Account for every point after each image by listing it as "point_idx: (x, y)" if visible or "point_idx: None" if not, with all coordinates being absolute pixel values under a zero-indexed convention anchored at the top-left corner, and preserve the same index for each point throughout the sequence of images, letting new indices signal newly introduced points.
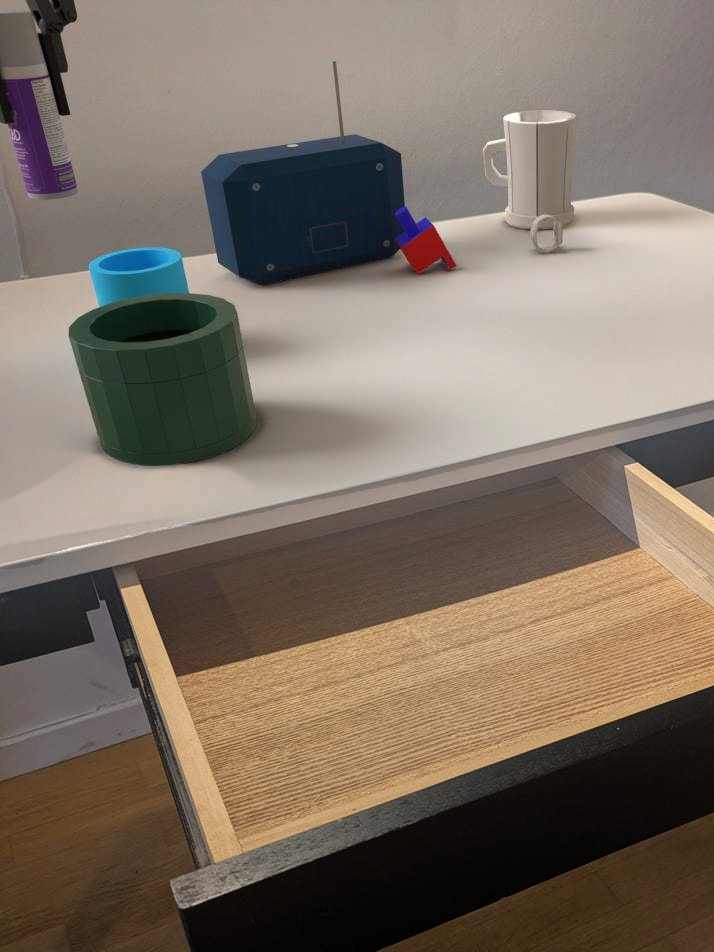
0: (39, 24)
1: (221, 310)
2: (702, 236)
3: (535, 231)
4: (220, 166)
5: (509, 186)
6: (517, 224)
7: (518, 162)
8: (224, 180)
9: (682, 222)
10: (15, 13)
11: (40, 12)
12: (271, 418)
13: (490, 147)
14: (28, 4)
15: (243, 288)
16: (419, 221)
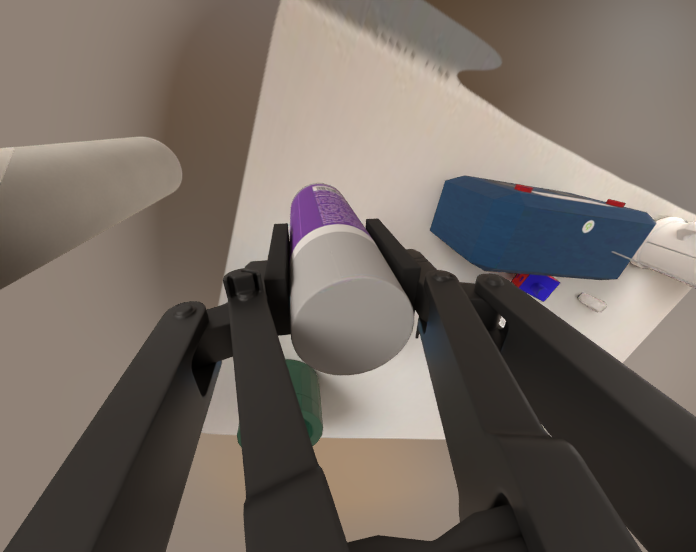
0: (424, 292)
1: (313, 438)
2: (632, 327)
3: (586, 304)
4: (498, 232)
5: (672, 243)
6: None
7: (686, 266)
8: (471, 262)
9: (660, 303)
10: (358, 370)
11: (423, 341)
12: (321, 391)
13: None
14: (433, 308)
15: (428, 223)
16: (554, 280)
